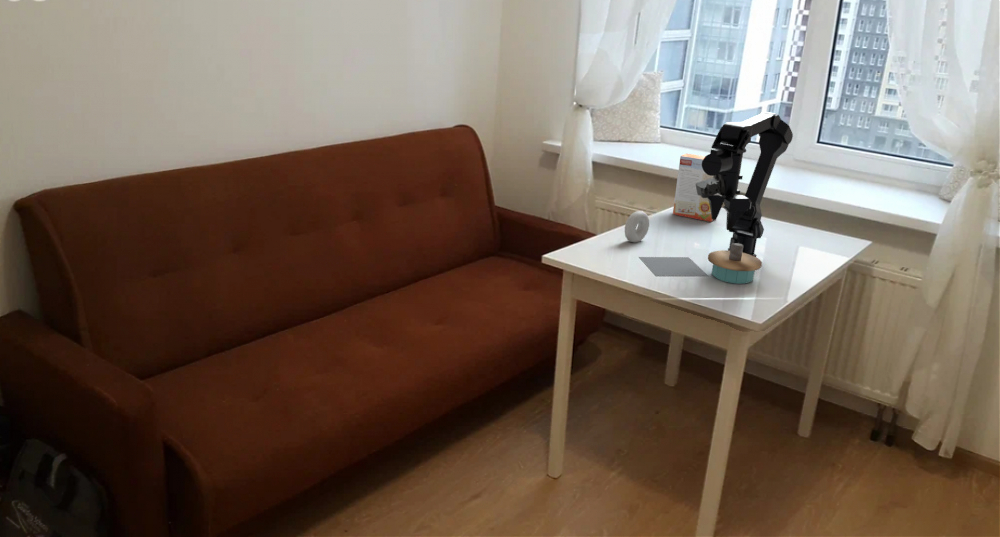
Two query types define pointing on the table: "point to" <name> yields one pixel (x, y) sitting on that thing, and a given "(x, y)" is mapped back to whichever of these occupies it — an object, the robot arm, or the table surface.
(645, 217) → the donut
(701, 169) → the cracker box
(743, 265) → the lid
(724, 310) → the table surface
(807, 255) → the table surface
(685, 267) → the mat
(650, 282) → the table surface
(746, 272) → the bowl
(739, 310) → the table surface
